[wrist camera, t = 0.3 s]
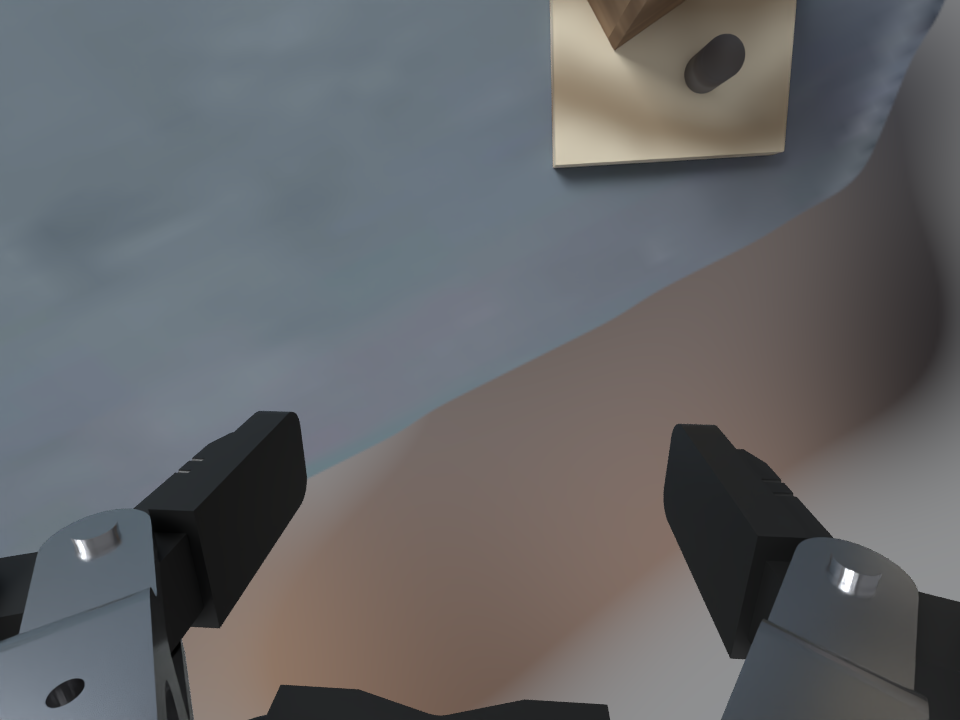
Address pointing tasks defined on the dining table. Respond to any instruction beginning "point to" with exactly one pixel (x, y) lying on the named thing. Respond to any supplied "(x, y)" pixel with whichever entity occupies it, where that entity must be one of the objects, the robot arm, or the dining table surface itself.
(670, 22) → the board
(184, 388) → the dining table surface
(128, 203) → the dining table surface
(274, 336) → the dining table surface
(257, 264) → the dining table surface
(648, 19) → the sleeve
